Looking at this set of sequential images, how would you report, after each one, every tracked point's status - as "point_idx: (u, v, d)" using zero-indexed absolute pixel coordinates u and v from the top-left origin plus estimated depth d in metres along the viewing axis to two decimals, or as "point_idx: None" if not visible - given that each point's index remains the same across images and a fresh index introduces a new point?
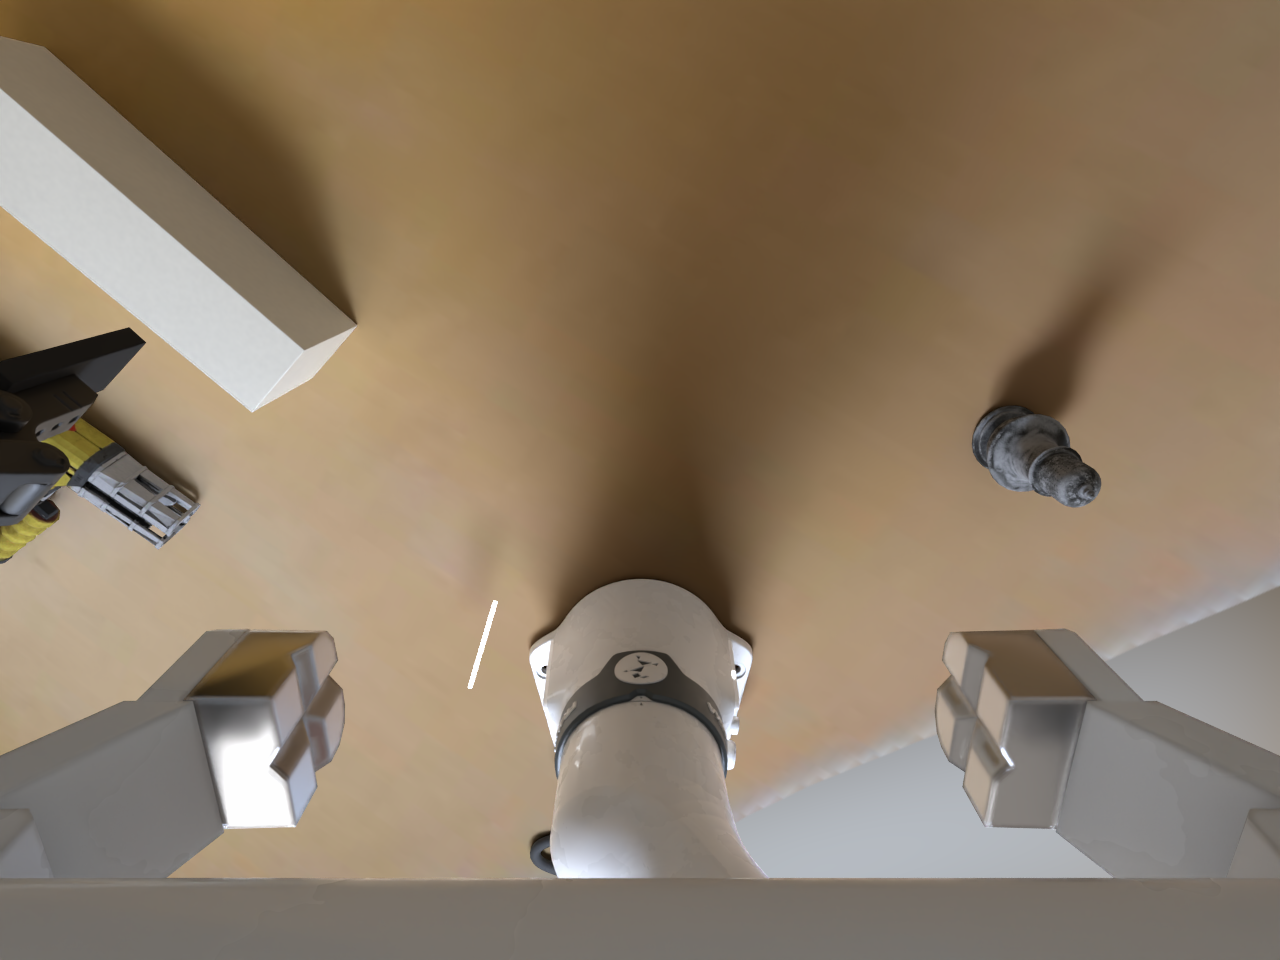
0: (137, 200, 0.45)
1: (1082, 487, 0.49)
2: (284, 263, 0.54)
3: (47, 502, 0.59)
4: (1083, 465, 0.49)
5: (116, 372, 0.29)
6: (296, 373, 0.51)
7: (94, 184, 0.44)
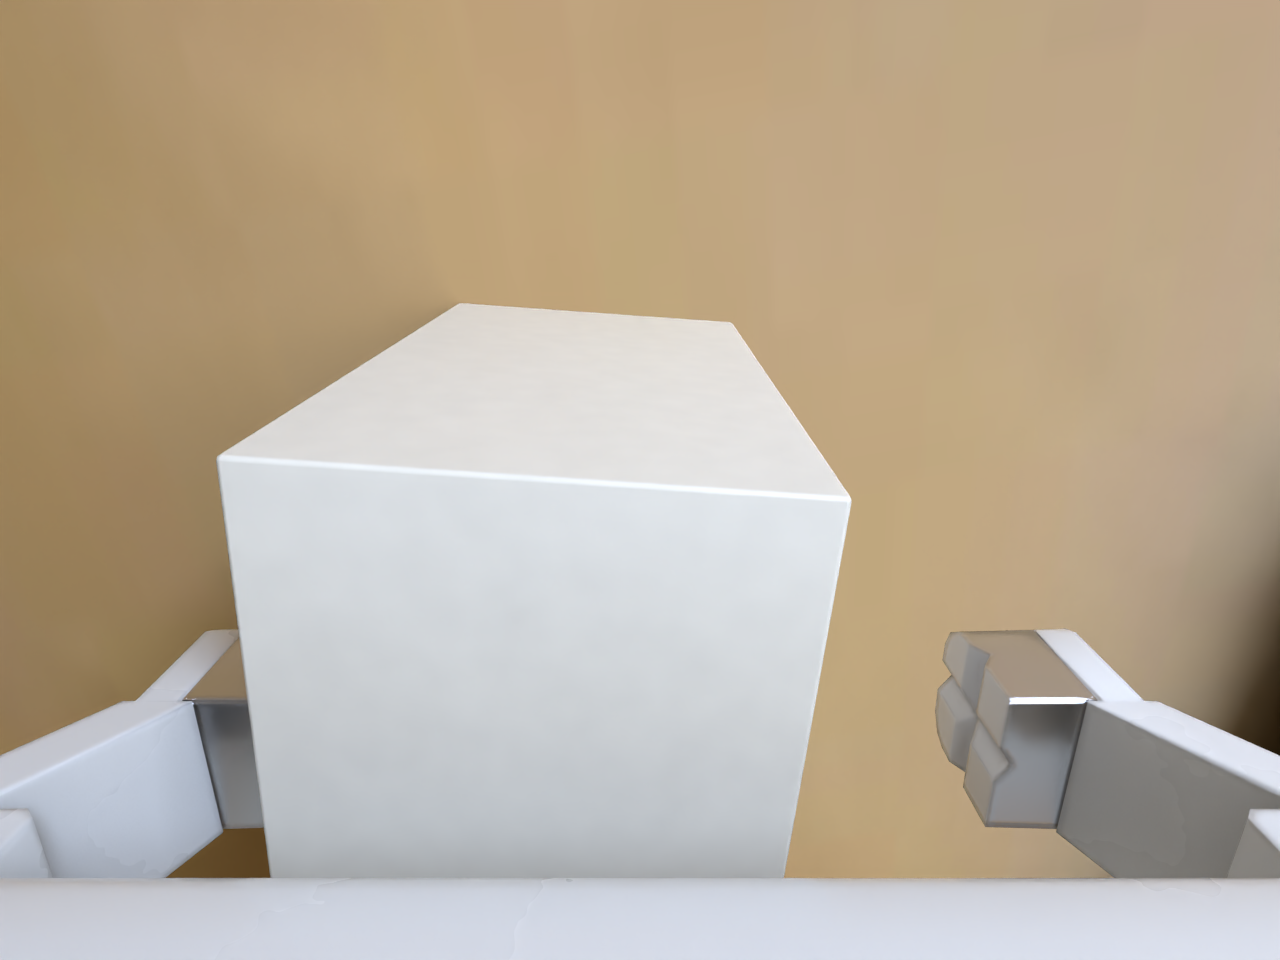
0: None
1: None
2: None
3: None
4: None
5: None
6: (582, 392, 0.10)
7: None
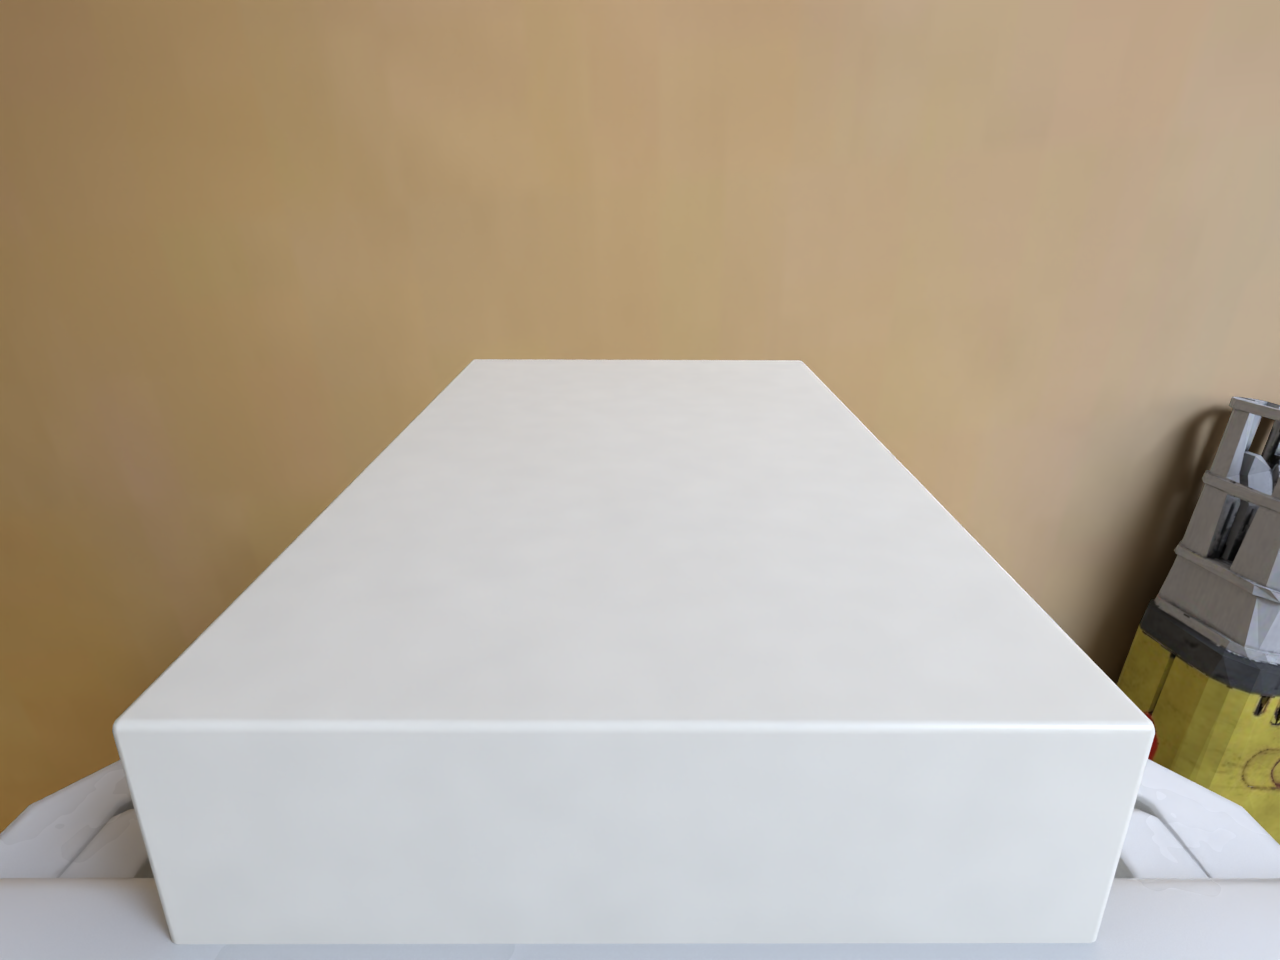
0: None
1: None
2: None
3: None
4: None
5: None
6: (656, 506, 0.07)
7: None
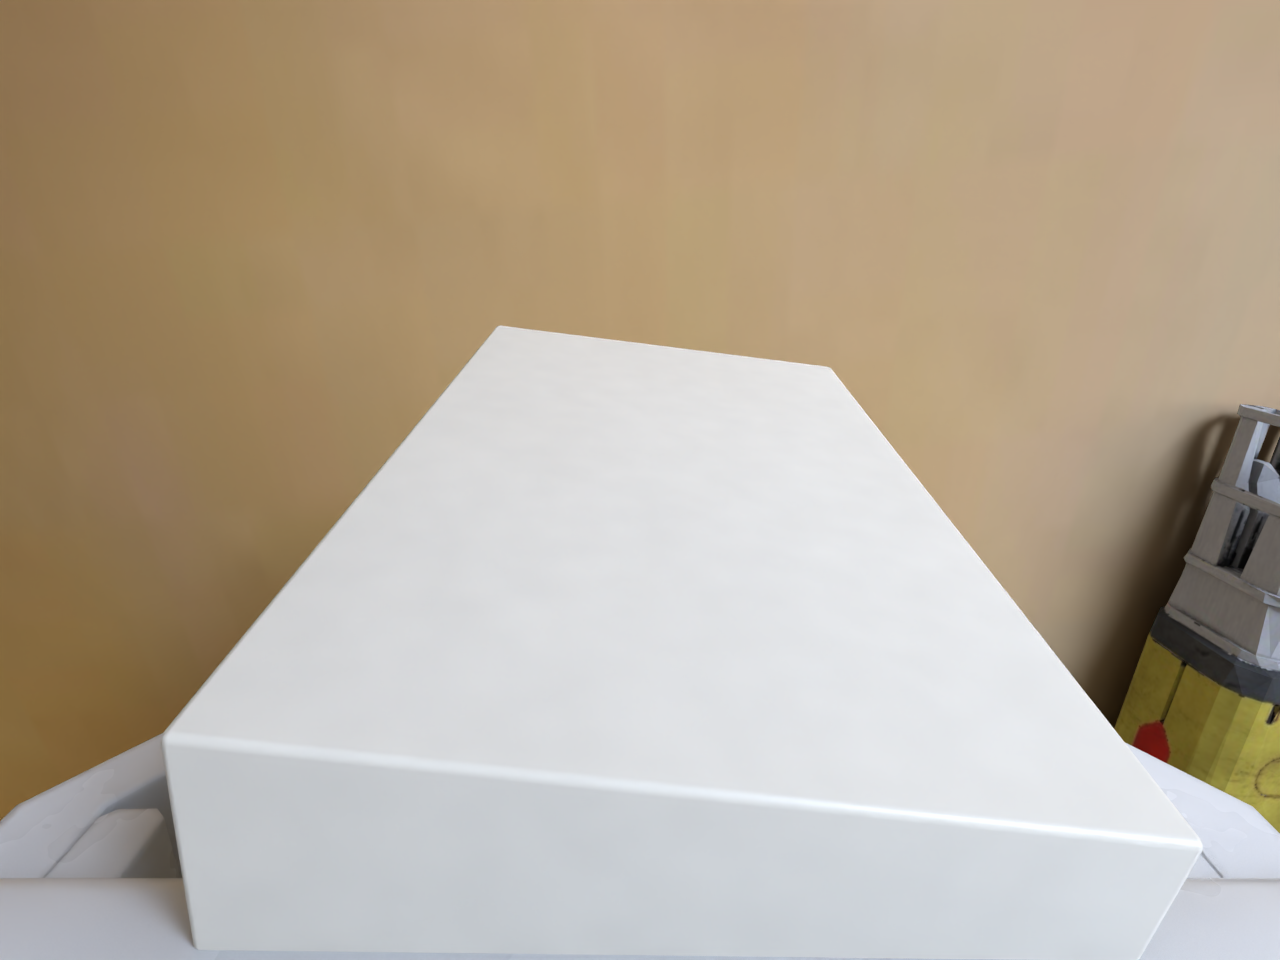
0: None
1: None
2: None
3: None
4: None
5: None
6: (698, 528, 0.07)
7: None
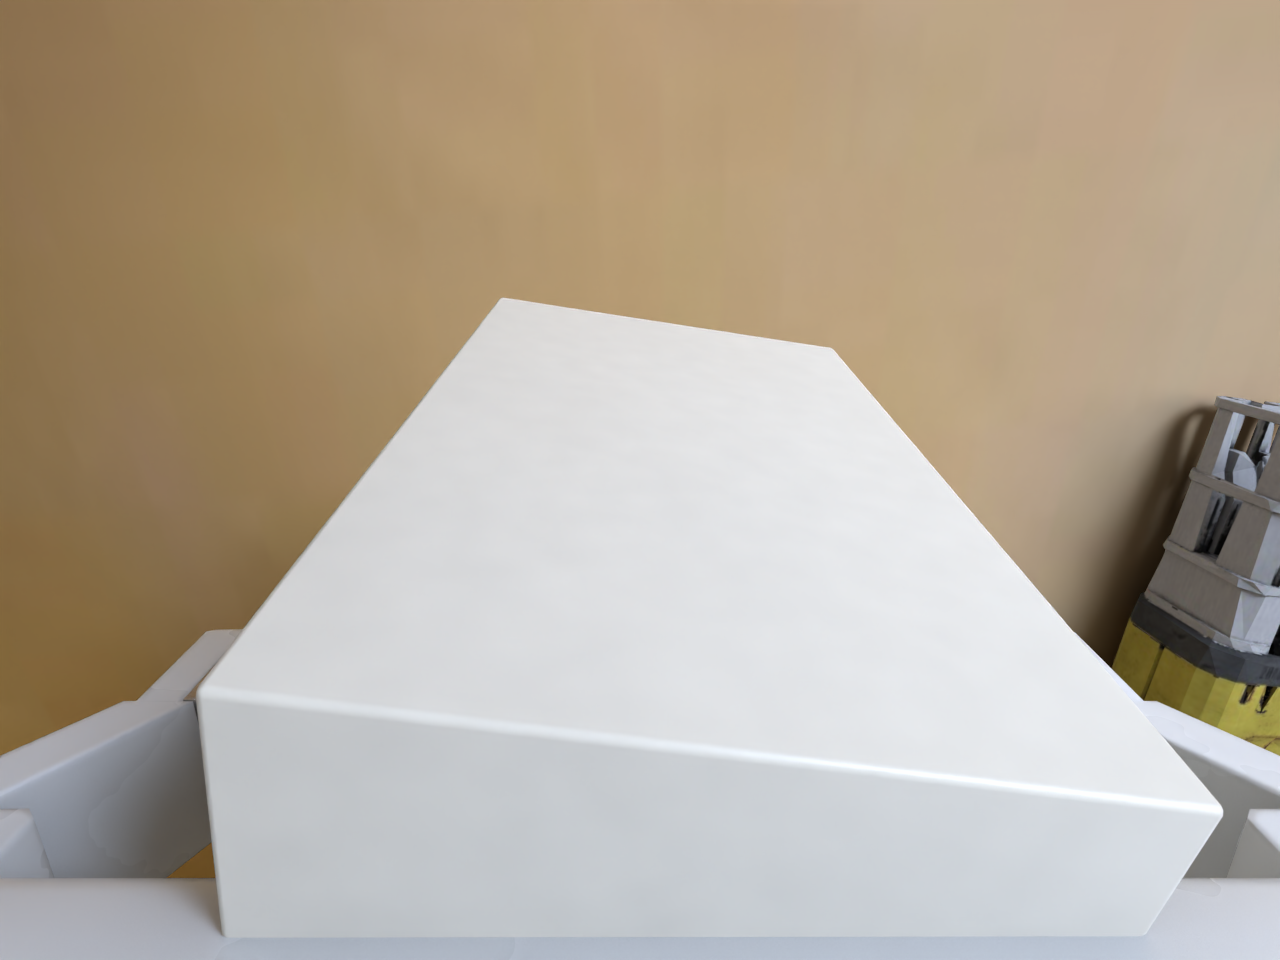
0: None
1: None
2: None
3: None
4: None
5: None
6: (716, 500, 0.07)
7: None
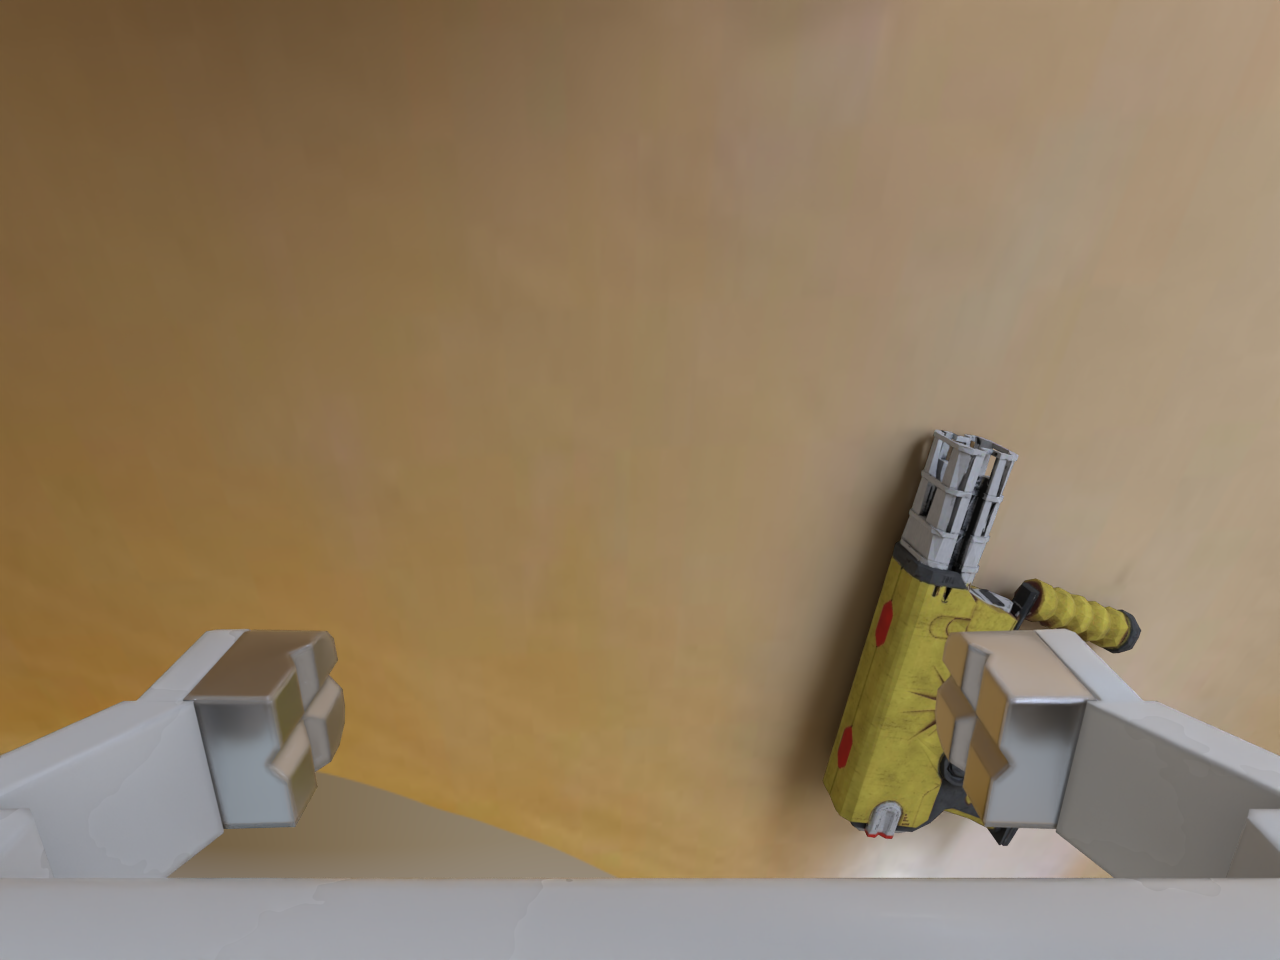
0: None
1: None
2: None
3: (1016, 597, 0.44)
4: None
5: None
6: None
7: None
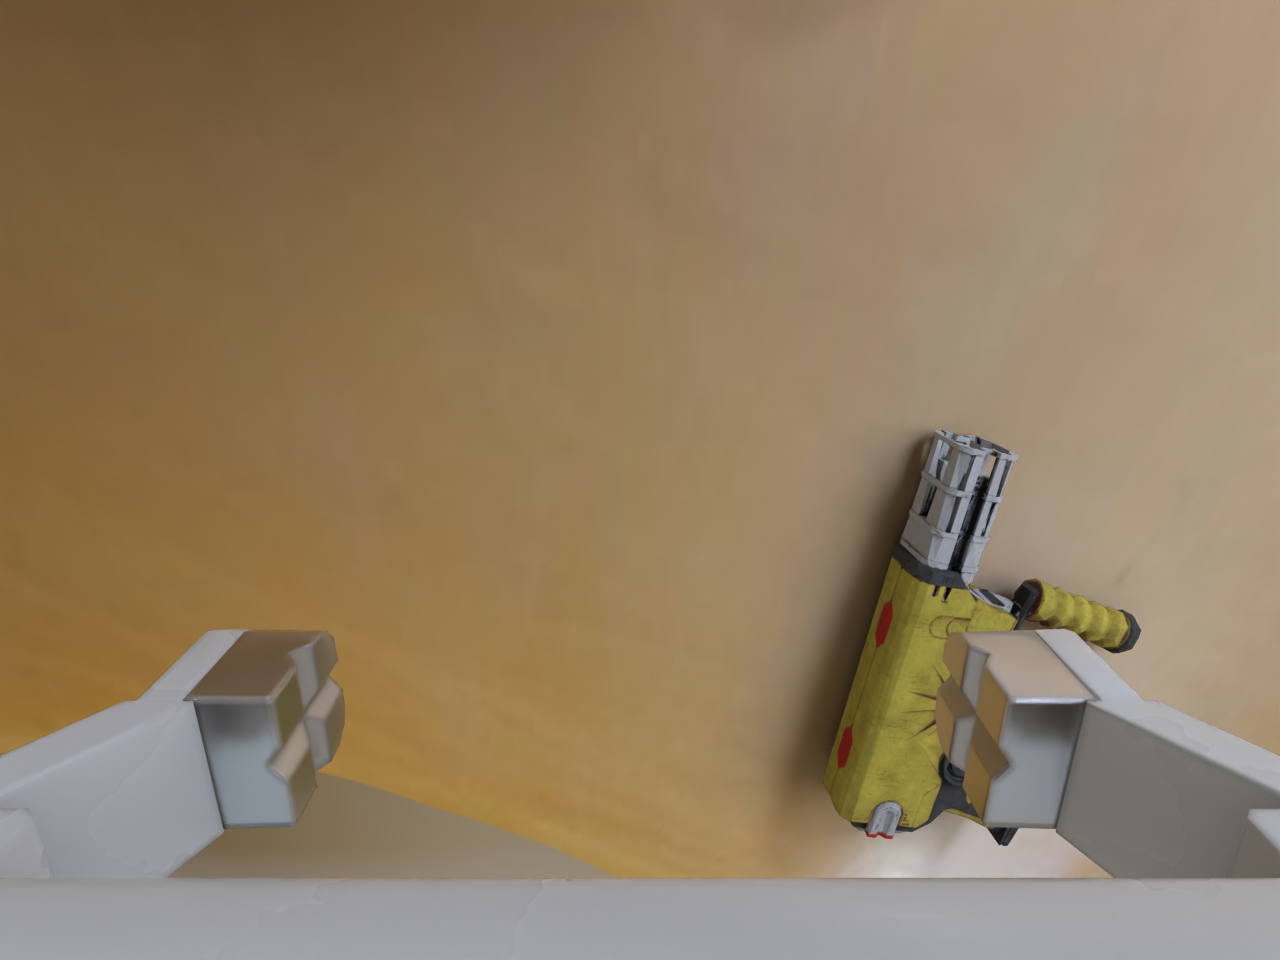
0: None
1: None
2: None
3: (1016, 597, 0.44)
4: None
5: None
6: None
7: None
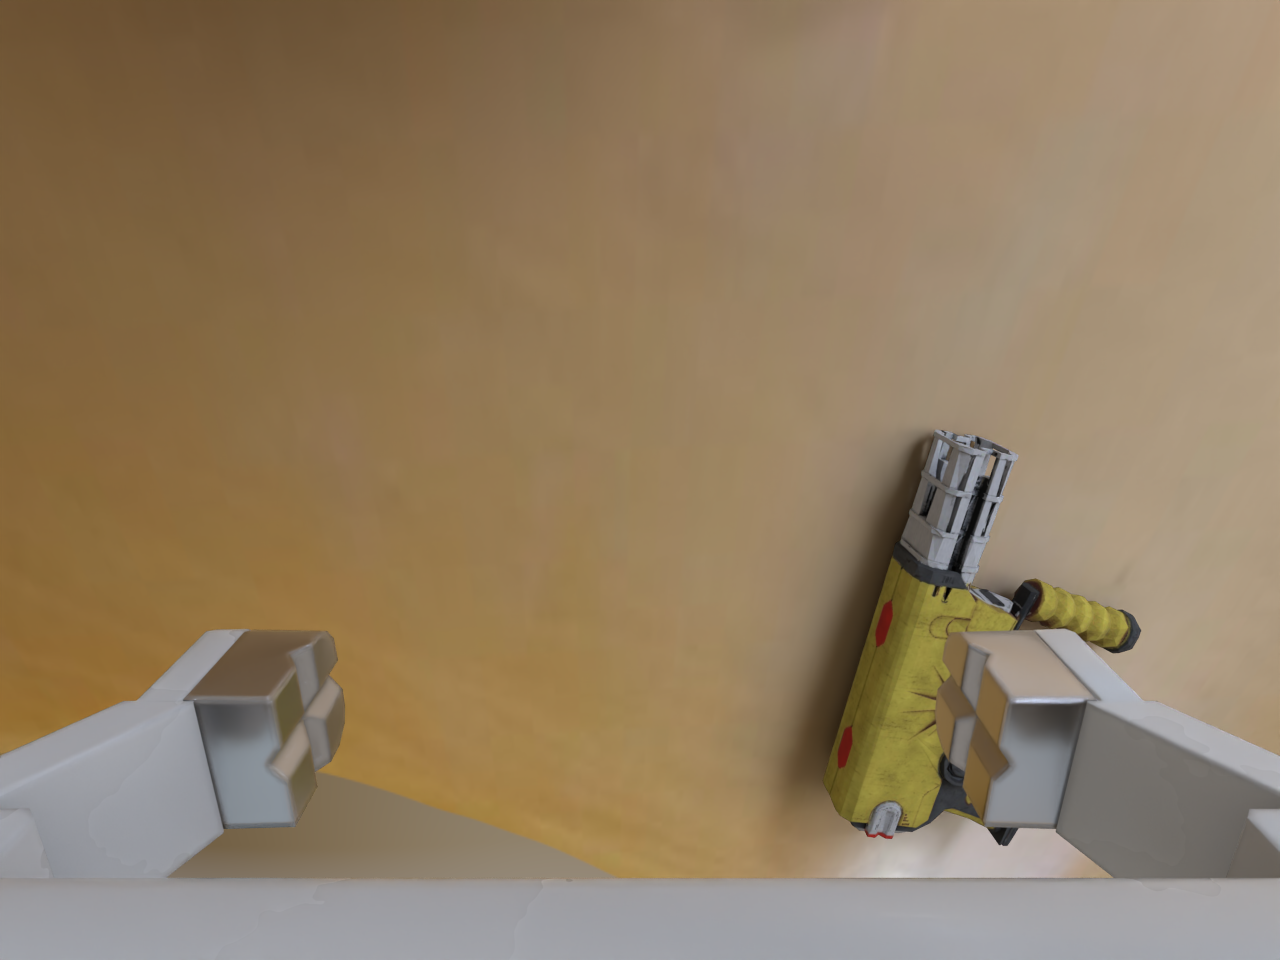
0: None
1: None
2: None
3: (1016, 597, 0.44)
4: None
5: None
6: None
7: None
